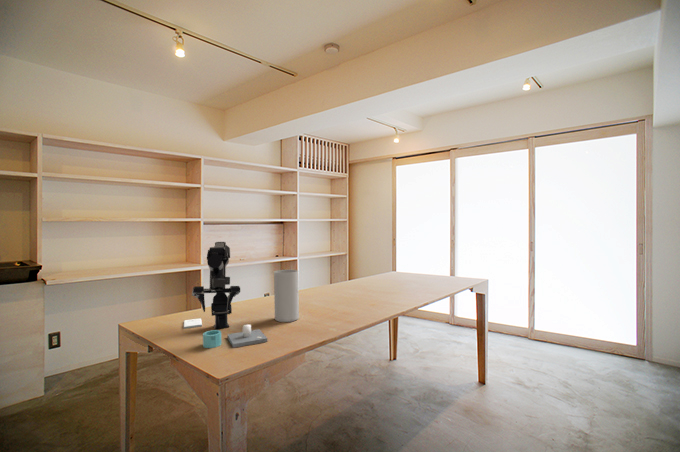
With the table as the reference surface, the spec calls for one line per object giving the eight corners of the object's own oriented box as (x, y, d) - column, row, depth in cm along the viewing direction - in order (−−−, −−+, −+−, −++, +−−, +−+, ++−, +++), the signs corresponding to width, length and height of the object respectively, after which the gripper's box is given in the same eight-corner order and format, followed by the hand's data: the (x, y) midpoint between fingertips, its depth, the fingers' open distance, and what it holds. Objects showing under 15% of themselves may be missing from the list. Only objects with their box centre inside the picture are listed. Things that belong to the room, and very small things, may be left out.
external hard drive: (183, 330, 161) (184, 323, 172) (202, 327, 164) (201, 320, 175) (183, 326, 161) (183, 320, 172) (202, 324, 164) (201, 317, 175)
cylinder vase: (294, 323, 167) (293, 273, 167) (270, 322, 169) (270, 272, 169) (302, 316, 179) (301, 269, 179) (280, 315, 182) (279, 269, 181)
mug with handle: (202, 343, 140) (202, 331, 140) (220, 340, 143) (219, 329, 143) (204, 350, 133) (204, 337, 133) (222, 346, 136) (222, 334, 136)
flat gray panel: (227, 337, 147) (227, 324, 147) (259, 332, 153) (259, 319, 153) (233, 347, 135) (232, 333, 134) (267, 341, 141) (267, 327, 141)
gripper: (195, 269, 133) (193, 308, 128) (242, 269, 142) (243, 306, 136) (192, 276, 142) (191, 313, 137) (237, 276, 151) (237, 311, 145)
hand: (216, 311), depth 138 cm, fingers open, 9 cm apart
